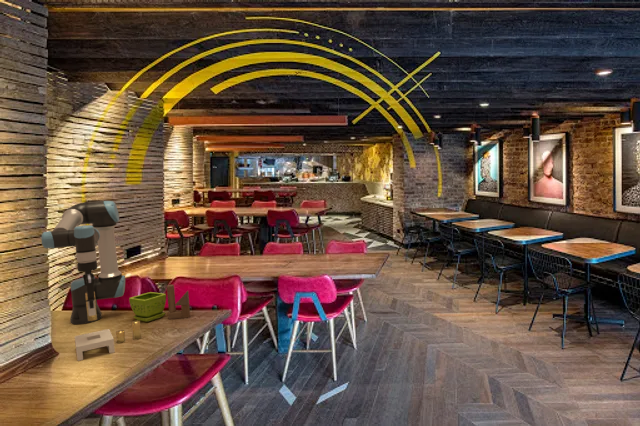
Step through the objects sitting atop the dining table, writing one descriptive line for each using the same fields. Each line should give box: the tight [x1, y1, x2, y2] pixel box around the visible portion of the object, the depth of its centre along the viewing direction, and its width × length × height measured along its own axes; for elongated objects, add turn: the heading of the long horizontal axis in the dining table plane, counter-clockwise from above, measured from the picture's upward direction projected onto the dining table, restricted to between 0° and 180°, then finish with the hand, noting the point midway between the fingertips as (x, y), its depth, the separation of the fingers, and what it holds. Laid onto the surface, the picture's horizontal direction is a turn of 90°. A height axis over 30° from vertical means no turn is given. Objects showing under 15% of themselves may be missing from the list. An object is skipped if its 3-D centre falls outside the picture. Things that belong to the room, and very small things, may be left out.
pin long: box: [85, 292, 98, 322], centre depth 184 cm, size 4×4×12 cm
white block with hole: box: [74, 328, 116, 362], centre depth 185 cm, size 16×14×6 cm
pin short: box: [115, 329, 126, 344], centre depth 194 cm, size 4×4×5 cm
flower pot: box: [128, 291, 167, 323], centre depth 227 cm, size 14×14×13 cm
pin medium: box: [131, 319, 142, 340], centre depth 198 cm, size 4×4×8 cm
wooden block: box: [166, 284, 191, 320], centre depth 226 cm, size 4×11×18 cm, turn 95°
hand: (91, 314), depth 184 cm, fingers closed on pin long, 3 cm apart
